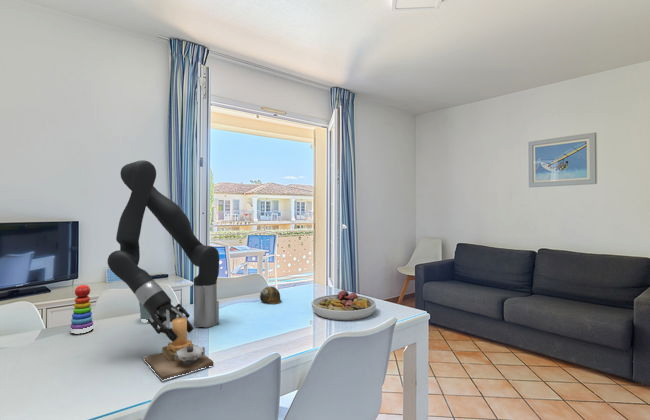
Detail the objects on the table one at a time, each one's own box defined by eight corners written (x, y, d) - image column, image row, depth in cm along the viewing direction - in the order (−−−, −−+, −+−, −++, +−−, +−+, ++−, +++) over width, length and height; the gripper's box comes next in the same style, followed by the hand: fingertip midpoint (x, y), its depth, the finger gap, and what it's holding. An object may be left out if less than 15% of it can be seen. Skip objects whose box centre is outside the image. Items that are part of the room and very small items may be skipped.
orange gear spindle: (187, 347, 120) (186, 315, 120) (195, 353, 115) (195, 320, 115) (163, 353, 116) (163, 319, 115) (171, 360, 110) (171, 325, 110)
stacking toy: (65, 336, 136) (65, 287, 136) (74, 329, 143) (74, 283, 143) (89, 334, 138) (89, 286, 138) (96, 327, 146) (96, 282, 146)
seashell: (256, 302, 185) (256, 287, 185) (269, 298, 192) (269, 284, 192) (271, 306, 178) (271, 290, 178) (284, 302, 185) (284, 286, 185)
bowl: (379, 322, 151) (379, 304, 151) (309, 322, 152) (309, 304, 152) (371, 304, 181) (371, 288, 181) (313, 304, 182) (313, 288, 182)
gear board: (191, 349, 123) (191, 331, 123) (213, 366, 109) (213, 346, 109) (144, 361, 113) (144, 342, 113) (162, 382, 99) (162, 360, 99)
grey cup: (145, 325, 148) (145, 297, 148) (134, 321, 154) (134, 293, 154) (168, 319, 156) (168, 292, 156) (157, 315, 162) (156, 289, 162)
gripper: (144, 295, 110) (177, 335, 107) (173, 285, 124) (203, 320, 121) (129, 311, 111) (161, 351, 108) (160, 299, 125) (189, 334, 122)
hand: (183, 335), depth 115 cm, fingers open, 8 cm apart
